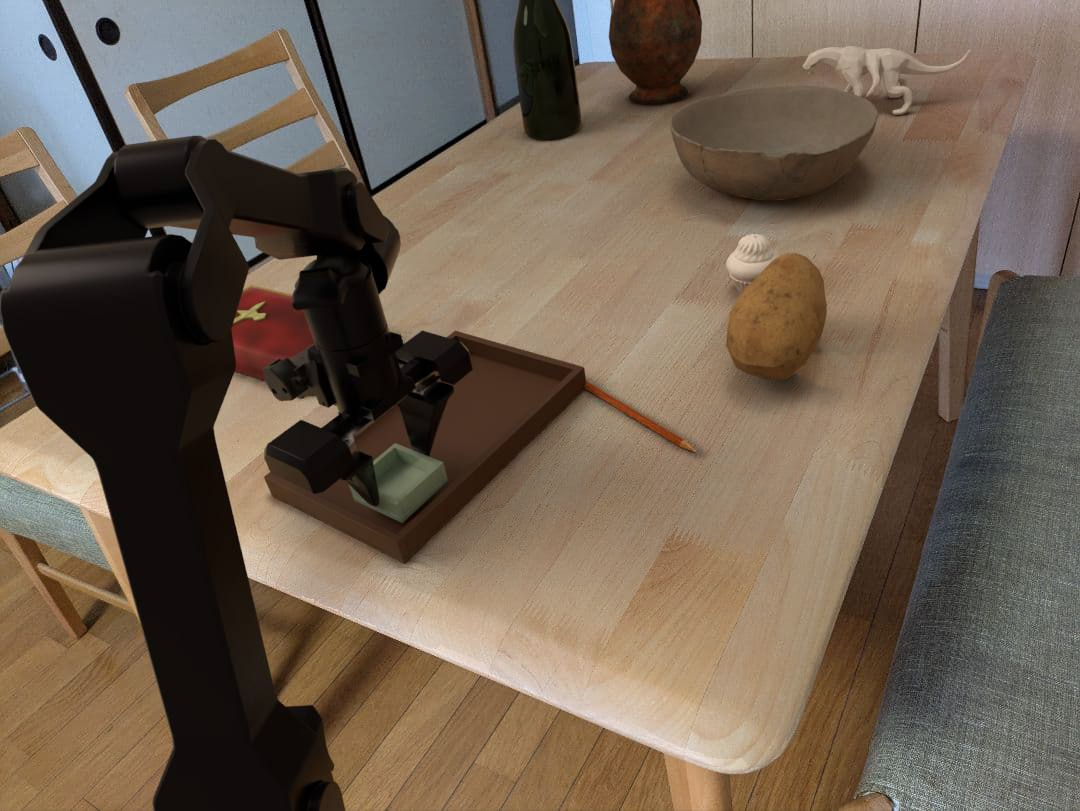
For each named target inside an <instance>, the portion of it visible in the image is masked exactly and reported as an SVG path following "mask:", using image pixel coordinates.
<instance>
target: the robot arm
mask: <svg viewBox="0 0 1080 811" xmlns="http://www.w3.org/2000/svg"><path fill="white" fill-rule="evenodd" d="M163 227H164V228H165V227H171V228H180V229H185V230H186V229H187V230H195V231H196V232H195V234H194V238H193V240H192V242H191V241H190V240H188V239H187V238H186V237H184V236H183V235H179V234H172V233H168V234H160V235H153V236H152V235H151V236H147V234H148V231H149V229H155V228H163ZM234 236H241V237H249V238H254V244H255V249H257V250H258V251H259V252H262V253H263V254H266V255H268V256H270V257H272V258H274V259H276V260H279V261H283V260H291V259H298V258H306V257H316V259H314V260H312V261H310V262H309V263H308V264H306V266H305V267H304V268H303V270H300V271H299V273H298V278H297V279H296V281H295V283H294V290H293V292H292V307H293V309H294V310H303V312H304V315H305V318H306V321H307V324H308V326H309V329H310V332H311V335H312V338H313V341H314V344H312V345H310V346H309V347H307V348H306V349H304V350H303V351H301V352H300V353H298V354H297V355H295V356H294V357H292V358H291V359H289V358H284V359H282V360H281V359H277V360H275V361H274V362H272V363H271V364H269V365H268V366H266V367H265V368H263V369H262V370H263V373H264V376H265V379H266V381H265V382H266V385H267V387H268V388H269V390H270V392H271V394H272V395H273V396H274V399H276V400H278V401H279V402H291V401H295V399H296V398H297V399H298V400H303V399H304V398H305V397H307V398H308V397H316V400H317V403H318V405H320V406H322V407H324V408H327V409H330V408H331V407H332V406H334V407H336V408H337V411H338V412H337V415H336V416H334V417H333V418H332V419H331V420H330V421H328V422H327V423H326V424H325V425H323V426H322V427H321V426H317V425H315V424H313V423H311V422H308V421H305V420H303V419H299V420H298V421H297V422H296V423H294V424H292V425H291V426H290V427H289V428H287V429H286V430H285V431H283V432H282V433H280V434H279V435H278V436H276V437H274V438H273V439H272V440H271V441H269V442H268V443H267V444H266V445H265V447H264V449H263V450H264V451H263V459H264V461H265V463H266V466H267V468H268V470H269V472H270V473H271V474H273V475H275V476H277V477H279V478H281V479H283V480H285V481H287V482H289V483H291V484H293V485H295V486H297V487H299V488H302V489H304V490H306V491H308V492H310V493H312V494H317V493H322V492H324V491H326V490H327V489H328V488H329V487H331V486H332V485H333V484H334V483H335V482H337V481H338V480H339V479H340V480H343V481H346V482H347V483H348V484H349V485H350V486H351V487H352V488H353V489H354V490H355V491H356V492H357V493H358V494H359V495H360V496H361V497H362V498H363V499H364V500H365V501H366V502H367V503H368V504H370V505H372V506H374V507H376V506H378V505H379V492H378V487H377V481H376V475H375V469H374V464H373V458H372V456H370V455H367V454H365V453H363V452H360V451H358V448H357V445H356V440H355V437H356V436H358V435H359V434H360V433H361V432H363V431H364V430H365V429H366V428H368V427H369V426H370V425H371V424H373V423H374V422H375V421H376V420H378V419H379V418H380V417H382V416H383V415H384V414H385V413H387V412H388V411H389V410H390V409H392V408H393V407H394V406H395V405H398V407H399V408H400V411H401V414H402V418H403V421H404V424H405V428H406V431H407V434H408V438H409V441H410V444H411V447H412V450H413V451H416V452H418V453H421V454H423V455H426V456H430V453H431V450H432V446H433V443H434V439H435V436H436V433H437V430H438V426H439V423H440V420H441V418H442V415H443V412H444V410H445V407H446V404H447V402H448V399H449V397H450V396H451V395H452V394H453V393H454V387H453V386H452V385H455V384H456V383H457V382H458V381H460V380H461V379H462V378H463V377H465V376H466V375H467V374H468V373H469V372H471V371H472V370H473V368H472V362H471V358H470V354H469V350H468V348H467V347H466V346H465V345H464V344H463V343H462V342H460V341H457V340H454V339H450V338H447V336H443V335H440V334H437V333H433V332H431V331H426V330H421V331H419V332H418V333H416V334H415V335H413V336H412V337H411V338H410V339H408V340H407V341H406V342H404V341H403V336H402V334H399V333H396V332H393V331H390V328H389V326H388V322H387V319H386V315H385V311H384V308H383V304H382V301H381V298H380V294H382V292H384V291H385V290H386V288H387V285H388V283H389V280H390V277H391V275H392V273H393V269H394V267H395V264H396V262H397V259H398V256H399V255H400V251H401V245H402V242H401V241H402V240H401V234H400V232H399V230H398V229H397V228H396V226H395V225H394V223H393V222H392V221H391V219H389V218H388V217H387V216H386V215H384V214H383V212H382V211H381V209H380V207H379V206H378V204H377V202H376V201H375V199H374V198H373V196H372V195H371V193H370V192H369V190H368V188H367V187H366V185H365V184H364V183H363V182H361V181H360V182H359V181H358V178H357V176H356V175H355V173H354V172H352V171H351V169H349V168H347V167H345V166H344V167H336V168H329V169H321V170H314V171H313V170H312V171H305V172H298V173H296V172H293V171H291V170H288V169H285V168H282V167H279V166H276V165H273V164H270V163H267V162H265V161H261V160H259V159H256V158H253V157H250V156H247V155H243V154H241V153H238V152H235V151H232V150H229V149H226V148H225V146H224V145H223V143H221V141H219V140H217V139H216V138H212V139H209V138H208V139H207V138H206V137H205V136H202V135H189V136H181V137H173V138H166V139H159V140H152V141H151V140H150V141H144V142H143V141H142V142H135V143H129V144H124V145H123V146H122V147H121V148H120V149H118V151H114V152H111V153H110V155H108V156H107V158H106V159H105V161H104V163H103V165H102V167H101V169H100V172H99V173H98V175H97V177H96V179H95V181H94V182H93V183H92V184H91V185H90V186H88V187H87V188H86V189H85V190H84V191H83V192H81V193H80V194H79V195H77V197H75V198H74V199H73V200H71V201H70V202H69V203H68V204H67V205H66V206H64V207H63V208H62V209H61V210H59V211H58V212H57V213H56V214H55V215H53V216H52V217H51V218H50V219H49V220H47V221H46V222H45V223H44V224H42V226H40V227H39V229H38V230H37V231H36V232H35V235H34V236H33V238H32V239H31V242H30V243H29V245H28V247H27V249H26V251H25V252H24V254H23V257H22V259H21V260H20V262H19V263H18V264H17V265H16V266H15V267H14V269H13V273H12V275H11V279H10V281H9V283H8V285H7V286H6V287H4V288H3V289H1V291H0V319H1V325H2V330H3V334H4V336H5V339H6V341H7V344H8V346H9V348H10V350H11V353H12V355H13V357H14V360H15V362H16V364H17V366H18V368H19V371H20V373H21V375H22V378H23V380H24V382H25V386H26V387H27V389H28V392H29V394H30V396H31V398H32V401H33V403H34V405H35V406H36V408H37V409H38V410H39V412H41V413H42V414H43V415H45V416H46V418H48V420H50V421H51V422H52V423H53V424H55V426H56V427H57V428H59V430H61V431H62V432H63V433H64V434H65V435H66V436H67V437H68V438H69V439H70V440H72V441H73V442H74V443H75V444H76V445H77V446H78V447H79V448H81V450H82V451H84V452H85V454H87V455H88V456H89V457H90V458H91V459H92V460H93V463H94V466H95V468H96V471H97V474H98V477H99V481H100V484H101V488H102V491H103V496H104V499H105V502H106V505H107V510H108V513H109V517H110V520H111V524H112V527H113V531H114V534H115V538H116V542H117V545H118V549H119V552H120V557H121V560H122V563H123V566H124V570H125V574H126V578H127V581H128V585H129V588H130V592H131V595H132V599H133V603H134V606H135V610H136V613H137V617H138V621H139V623H140V627H141V631H142V635H143V638H144V642H145V645H146V648H147V652H148V657H149V661H150V662H151V667H152V671H153V674H154V677H155V678H154V679H155V682H156V685H157V688H158V692H159V695H160V699H161V702H162V706H163V710H164V713H165V717H166V721H167V724H168V728H169V731H170V735H171V740H172V750H171V751H170V755H169V757H168V760H167V763H166V765H165V767H164V769H163V773H162V774H161V777H160V780H159V782H158V785H157V787H156V790H155V792H154V795H153V798H152V810H153V811H346V807H345V802H344V797H343V793H342V789H341V786H340V785H339V783H337V781H335V779H334V776H333V773H332V772H333V771H334V769H335V763H334V761H333V759H332V758H331V756H330V753H329V749H328V747H327V740H326V734H325V729H324V728H325V727H324V720H323V718H322V716H321V714H320V713H319V711H318V710H317V708H316V707H315V706H314V705H313V704H306V705H304V704H303V705H288V706H286V705H285V704H284V703H282V702H281V701H280V700H279V699H278V696H277V694H276V690H275V686H274V681H273V677H272V673H271V669H270V665H269V660H268V655H267V652H266V648H265V643H264V638H263V635H262V630H261V626H260V622H259V617H258V613H257V610H256V605H255V602H254V597H253V592H252V589H251V584H250V580H249V575H248V572H247V566H246V563H245V558H244V555H243V551H242V546H241V542H240V537H239V533H238V529H237V524H236V521H235V518H234V512H233V507H232V503H231V499H230V496H229V492H228V487H227V483H226V479H225V475H224V474H225V473H224V470H223V466H222V461H221V457H220V452H219V448H218V445H217V444H218V443H217V440H216V435H215V434H216V433H215V428H214V427H215V424H216V421H217V419H218V416H219V414H220V411H221V409H222V406H223V403H224V400H225V399H226V395H227V393H228V390H229V389H230V384H231V382H232V380H233V377H234V375H235V373H236V372H235V369H236V358H235V351H234V344H233V337H232V330H231V329H232V326H233V322H234V319H235V316H236V312H237V309H238V305H239V302H240V299H241V295H242V292H243V290H244V289H245V285H246V281H247V278H248V275H249V272H250V267H249V266H250V264H249V262H248V260H247V258H246V257H245V255H244V254H243V252H242V249H241V248H240V245H239V244H238V242H237V241H236V239H235V237H234ZM438 372H439V374H438ZM438 375H440V376H438ZM441 381H443V382H441ZM444 382H446V383H444ZM447 383H449V384H447ZM450 384H452V385H450Z"/></svg>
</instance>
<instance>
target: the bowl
mask: <svg viewBox="0 0 1080 811" xmlns="http://www.w3.org/2000/svg"><path fill="white" fill-rule="evenodd" d="M878 118H879V116H878V109H877V107H876V106H875V104H874V103H873V102H871V101H870V100H868V99H866V98H864V97H862V96H861V97H860V96H857V95H855V94H854V93H852V92H850V93H849V92H846V91H842V89H839V88H833V87H822V86H811V85H776V86H775V85H774V86H759V87H752V88H744V89H738V90H731V91H727V92H723V93H718V94H713V95H710V96H706V97H703V98H699V99H697V100H694V101H692V102H690V103H687V104H686V105H684V106H683V107H680V108H678V109H677V111H675V112H674V113H673V115H672V116H671V118H670V120H669V128H670V131H671V138H672V141H673V143H674V148H675V151H676V154H677V156H678V158H679V160H680V162H681V163H682V165H683V167H684V169H685V170H686V172H687V173H688V174H689V175H691V177H692V178H694V179H695V180H696V181H698V182H699V183H701V184H703V185H705V186H707V187H709V188H711V189H713V190H715V191H717V192H720V193H723V194H727V195H730V196H734V197H739V198H744V199H745V198H746V199H752V200H758V201H759V200H760V201H783V200H785V201H786V200H791V199H797V198H801V197H805V196H809V195H813V194H815V193H818V192H820V191H822V190H824V189H826V188H828V187H830V186H832V185H833V184H834V183H836V182H837V181H838V180H839V179H840V178H842V177H843V176H844V175H845V174H846V173H847V172H848V171H849V170H850V169H851V167H853V165H854V164H855V162H856V161H857V159H858V158H859V156H860V155H861V154H862V152H863V151H864V149H865V148H866V147H867V145H868V143H869V141H870V139H871V138H872V136H873V134H874V131H875V128H876V125H877V122H878Z"/></svg>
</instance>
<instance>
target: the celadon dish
mask: <svg viewBox="0 0 1080 811" xmlns="http://www.w3.org/2000/svg"><path fill="white" fill-rule="evenodd" d="M373 464H374V469H375V475H376V481H377V487H378V492H379V505H378V506H376V507H374V506H372V505H370V504H368V503H367V502H366V501H365V500H364V499H363V498H362V497H361V496H360V495H359V494H358V493H357V492H356V491H355V490H354V489H353V488H352V487H351V486H350V485H349V487H350V490H351V492H352V495H353V498H354V500H355V501H357V502H359V503H361V504H363V505H365V506H367V507H369V508H371V509H374V510H376V511H378V512H380V513H382V514H384V515H386V516H388V517H391V518H393V519H395V520H397V521H399V522H401V523H403V522H404V521H405V520H406V519H407V518H408V517H410V516H411V515H412V514H413V513H414V512H415V511H416V510H417V509H418V508H419V507H420V506H422V505H423V504H424V503H425V502H426V501H427V500H428V499H429V498H430V497H431V496H432V495H433V494H435V493H436V492H437V491H438V490H439V489H440V488H441V487H442V486H443V485H444V484H445V483H446V482H448V478H447V474H446V471H445V467H444V463H443V462H441V461H439V460H436V459H434V458H431V457H429V456H426V455H423V454H421V453H418V452H416V451H413V450H411V449H409V448H406V447H404V446H401V445H399V444H396V443H394V444H393V445H392V446H391V447H390V448H388V449H387V450H386V451H385V452H384V453H382V454H381V455H380V456H379V457H378V458H376V459H375V460H374V461H373Z"/></svg>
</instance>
